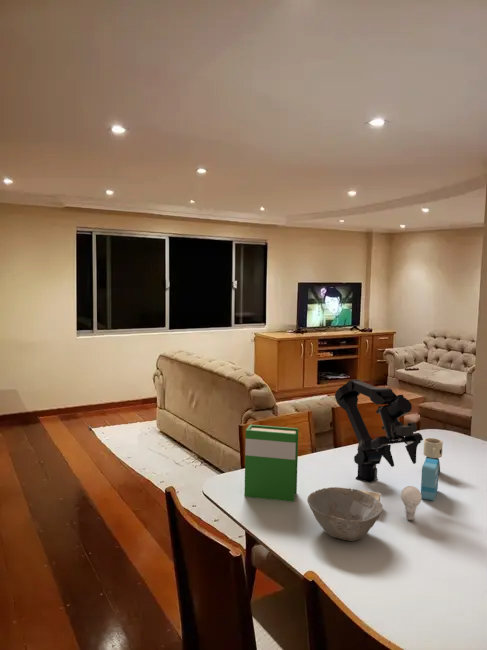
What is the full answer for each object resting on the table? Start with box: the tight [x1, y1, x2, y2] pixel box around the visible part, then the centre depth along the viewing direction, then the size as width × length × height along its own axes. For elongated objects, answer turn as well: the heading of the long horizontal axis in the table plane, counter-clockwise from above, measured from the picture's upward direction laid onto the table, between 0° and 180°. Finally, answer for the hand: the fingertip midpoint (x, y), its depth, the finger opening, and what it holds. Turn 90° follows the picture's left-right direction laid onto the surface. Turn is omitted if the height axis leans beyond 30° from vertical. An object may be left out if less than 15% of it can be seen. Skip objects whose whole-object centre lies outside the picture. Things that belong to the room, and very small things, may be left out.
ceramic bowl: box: [306, 486, 384, 542], centre depth 156 cm, size 22×23×10 cm
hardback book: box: [243, 424, 299, 503], centre depth 183 cm, size 18×7×24 cm, turn 77°
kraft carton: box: [358, 489, 381, 503], centre depth 173 cm, size 7×7×5 cm
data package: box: [420, 457, 440, 502], centre depth 186 cm, size 12×4×12 cm, turn 153°
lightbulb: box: [400, 485, 423, 521], centre depth 166 cm, size 6×6×11 cm
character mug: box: [423, 437, 444, 473], centre depth 208 cm, size 11×7×13 cm, turn 165°
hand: (404, 465), depth 179 cm, fingers open, 9 cm apart
